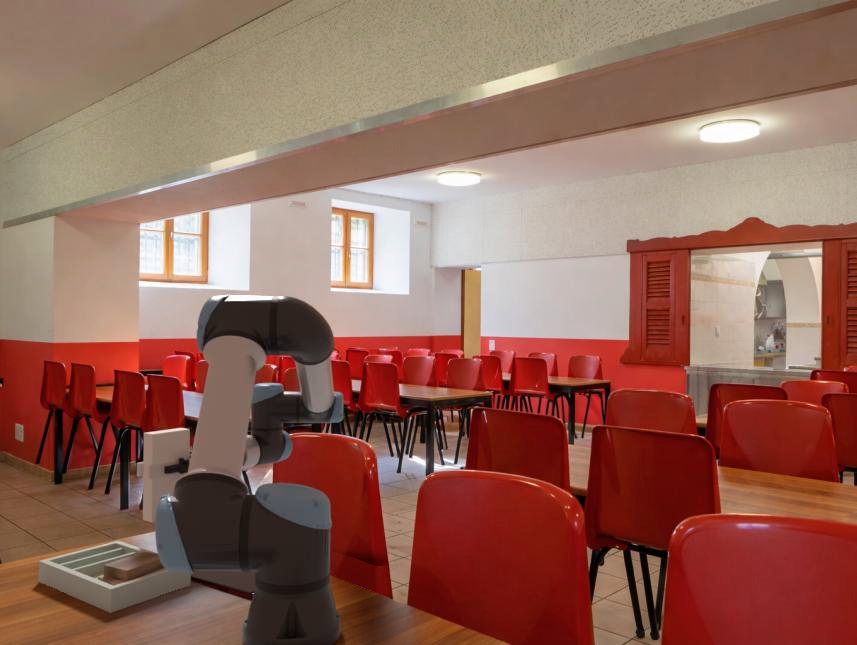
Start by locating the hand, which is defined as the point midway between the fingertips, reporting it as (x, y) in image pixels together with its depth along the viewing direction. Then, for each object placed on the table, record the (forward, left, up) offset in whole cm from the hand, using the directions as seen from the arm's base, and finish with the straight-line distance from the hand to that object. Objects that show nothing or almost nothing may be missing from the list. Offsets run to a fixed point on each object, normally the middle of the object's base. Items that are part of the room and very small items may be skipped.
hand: (143, 470), depth 146 cm
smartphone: (-21, -6, -20) cm, 29 cm away
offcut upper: (-12, +9, -15) cm, 22 cm away
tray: (-6, +10, -19) cm, 22 cm away
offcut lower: (-13, +10, -17) cm, 24 cm away
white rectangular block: (0, -6, -10) cm, 12 cm away
